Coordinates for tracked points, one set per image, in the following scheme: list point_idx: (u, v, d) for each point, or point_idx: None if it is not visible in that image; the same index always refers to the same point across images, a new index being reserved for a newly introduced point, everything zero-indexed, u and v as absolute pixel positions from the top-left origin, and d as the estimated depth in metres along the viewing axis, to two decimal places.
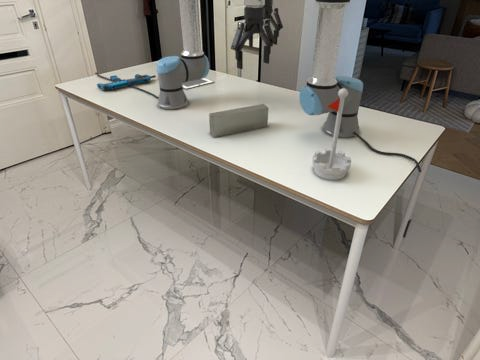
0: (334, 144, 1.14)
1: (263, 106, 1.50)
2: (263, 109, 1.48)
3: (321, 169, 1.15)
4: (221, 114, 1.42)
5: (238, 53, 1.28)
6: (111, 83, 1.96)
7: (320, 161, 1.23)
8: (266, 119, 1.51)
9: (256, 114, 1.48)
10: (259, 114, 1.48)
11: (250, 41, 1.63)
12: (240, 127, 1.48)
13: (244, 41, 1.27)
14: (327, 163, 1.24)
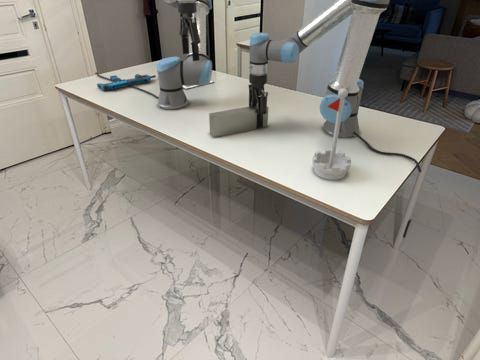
0: (334, 144, 1.14)
1: None
2: None
3: (321, 169, 1.15)
4: (221, 114, 1.42)
5: None
6: (111, 83, 1.96)
7: (320, 161, 1.23)
8: (266, 119, 1.51)
9: (256, 114, 1.48)
10: None
11: (260, 122, 1.50)
12: (240, 127, 1.48)
13: (182, 30, 1.45)
14: (327, 163, 1.24)
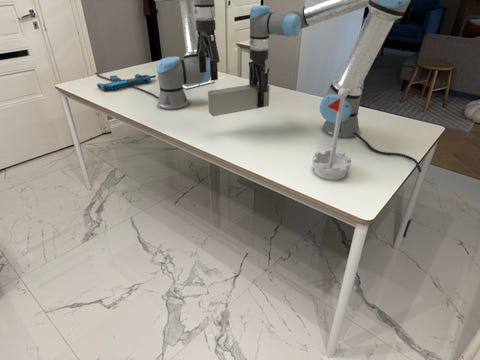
0: (334, 144, 1.14)
1: None
2: None
3: (321, 169, 1.15)
4: (220, 91, 1.37)
5: None
6: (111, 83, 1.96)
7: (320, 161, 1.23)
8: (267, 98, 1.46)
9: (256, 93, 1.43)
10: None
11: (261, 101, 1.45)
12: (240, 105, 1.42)
13: (199, 48, 1.38)
14: (327, 163, 1.24)
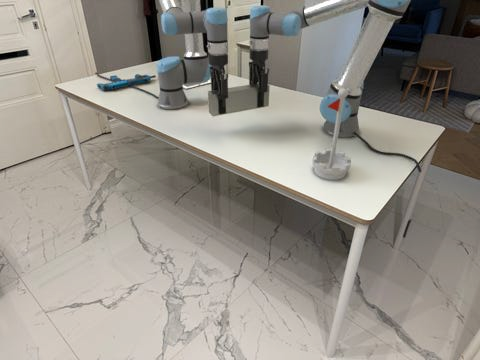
0: (334, 144, 1.14)
1: None
2: None
3: (321, 169, 1.15)
4: None
5: None
6: (111, 83, 1.96)
7: (320, 161, 1.23)
8: (267, 98, 1.46)
9: (256, 93, 1.43)
10: None
11: (261, 101, 1.45)
12: (240, 105, 1.42)
13: (213, 84, 1.38)
14: (327, 163, 1.24)
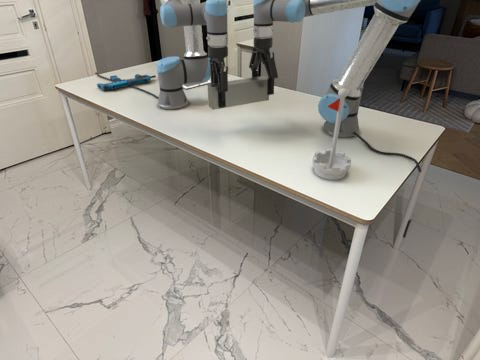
0: (334, 144, 1.14)
1: (265, 77, 1.43)
2: (264, 81, 1.41)
3: (321, 169, 1.15)
4: None
5: None
6: (111, 83, 1.96)
7: (320, 161, 1.23)
8: None
9: (257, 86, 1.41)
10: (259, 86, 1.42)
11: (271, 88, 1.38)
12: (240, 99, 1.41)
13: (213, 77, 1.36)
14: (327, 163, 1.24)
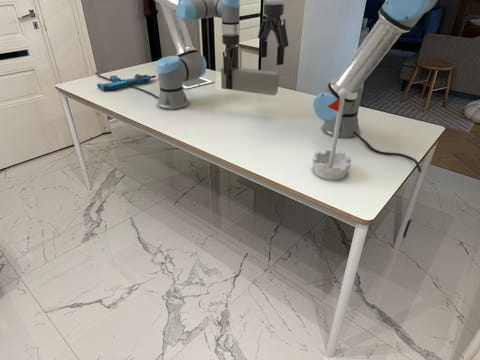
0: (334, 144, 1.14)
1: (274, 73, 1.49)
2: (270, 75, 1.48)
3: (321, 169, 1.15)
4: None
5: None
6: (111, 83, 1.96)
7: (320, 161, 1.23)
8: (273, 87, 1.51)
9: (262, 78, 1.50)
10: (265, 79, 1.50)
11: (281, 58, 1.34)
12: (246, 86, 1.55)
13: None
14: (327, 163, 1.24)
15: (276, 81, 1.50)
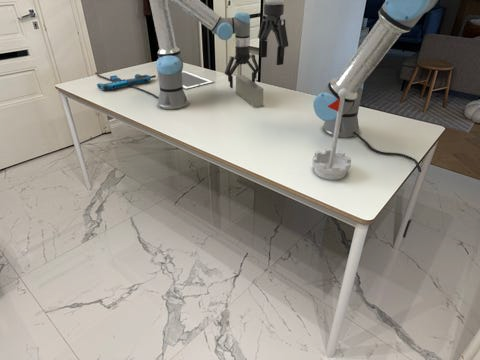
0: (334, 144, 1.14)
1: (257, 88, 1.70)
2: (253, 89, 1.71)
3: (321, 169, 1.15)
4: (241, 77, 1.86)
5: None
6: (111, 83, 1.96)
7: (320, 161, 1.23)
8: (254, 100, 1.72)
9: (250, 90, 1.74)
10: (251, 92, 1.73)
11: (281, 58, 1.34)
12: (244, 94, 1.83)
13: None
14: (327, 163, 1.24)
15: (257, 95, 1.71)
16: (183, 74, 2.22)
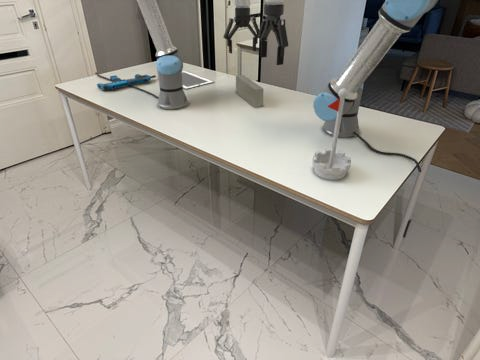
0: (334, 144, 1.14)
1: (257, 88, 1.70)
2: (253, 89, 1.71)
3: (321, 169, 1.15)
4: (241, 77, 1.86)
5: None
6: (111, 83, 1.96)
7: (320, 161, 1.23)
8: (254, 100, 1.72)
9: (250, 90, 1.74)
10: (251, 92, 1.73)
11: (281, 58, 1.34)
12: (244, 94, 1.83)
13: None
14: (327, 163, 1.24)
15: (257, 95, 1.71)
16: (183, 74, 2.22)
